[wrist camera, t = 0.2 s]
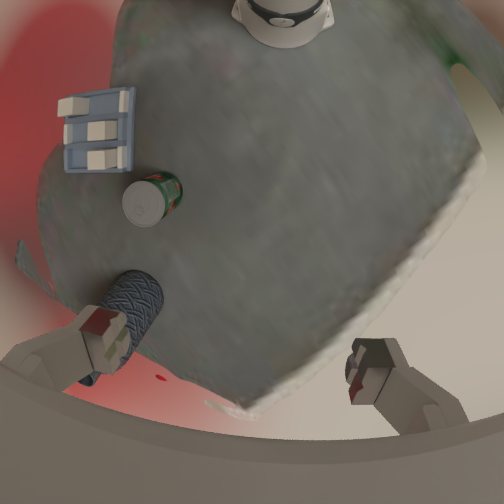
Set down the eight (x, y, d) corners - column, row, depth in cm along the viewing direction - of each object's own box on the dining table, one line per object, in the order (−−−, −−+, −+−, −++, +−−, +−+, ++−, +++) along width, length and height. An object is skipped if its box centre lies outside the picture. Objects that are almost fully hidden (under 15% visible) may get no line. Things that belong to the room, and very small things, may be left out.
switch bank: (70, 97, 49) (62, 96, 46) (136, 87, 49) (129, 85, 46) (69, 171, 56) (61, 173, 53) (133, 170, 55) (126, 172, 52)
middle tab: (104, 122, 50) (87, 122, 45) (120, 120, 50) (105, 120, 45) (103, 138, 52) (87, 140, 46) (120, 138, 52) (104, 139, 46)
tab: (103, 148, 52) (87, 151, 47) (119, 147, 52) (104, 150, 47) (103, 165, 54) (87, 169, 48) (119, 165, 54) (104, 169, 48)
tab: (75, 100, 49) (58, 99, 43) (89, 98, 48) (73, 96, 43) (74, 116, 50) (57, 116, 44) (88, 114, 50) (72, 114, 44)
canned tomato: (161, 163, 54) (137, 171, 44) (192, 187, 56) (173, 200, 46) (140, 194, 57) (114, 208, 47) (169, 218, 59) (148, 236, 49)
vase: (138, 321, 69) (86, 404, 43) (109, 281, 66) (42, 355, 40) (174, 304, 66) (127, 396, 40) (144, 260, 63) (76, 339, 37)
